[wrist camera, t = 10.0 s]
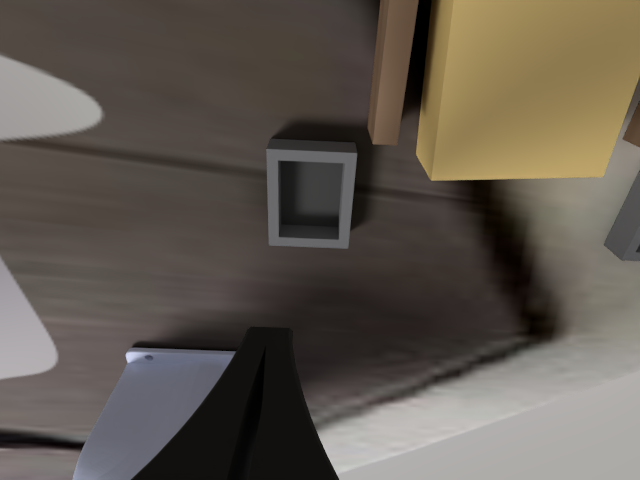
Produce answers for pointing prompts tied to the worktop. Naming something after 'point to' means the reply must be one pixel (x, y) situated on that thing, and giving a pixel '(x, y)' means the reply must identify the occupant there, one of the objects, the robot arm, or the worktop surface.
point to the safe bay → (393, 72)
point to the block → (526, 87)
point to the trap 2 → (627, 227)
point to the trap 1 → (310, 192)
